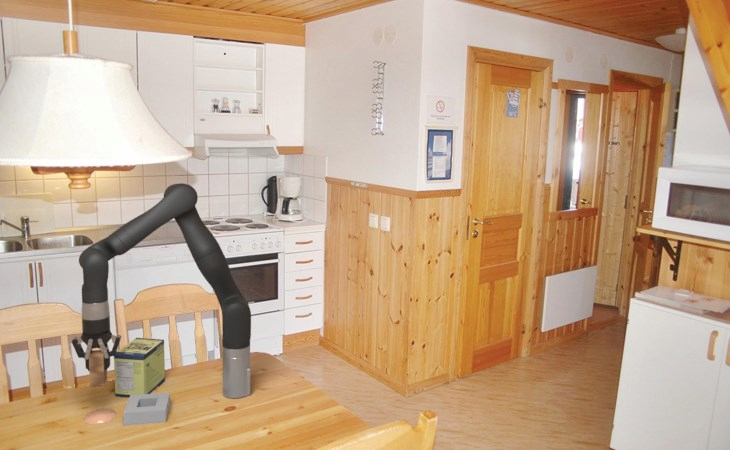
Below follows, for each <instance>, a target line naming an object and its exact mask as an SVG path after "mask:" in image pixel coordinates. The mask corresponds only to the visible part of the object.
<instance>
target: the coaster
mask: <svg viewBox="0 0 730 450" xmlns="http://www.w3.org/2000/svg"><path fill="white" fill-rule="evenodd" d="M116 416H117V412H116V410H115V409H112V408H98V409H95V410H91V411H89V412H87V413H86V414H85V415H84V416H83V421H84V422H85V423H87V424H89V425H90V424H91V425H98V424H104V423H107V422H109V421H112V420H113V419H114V418H115V417H116Z"/></svg>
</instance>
